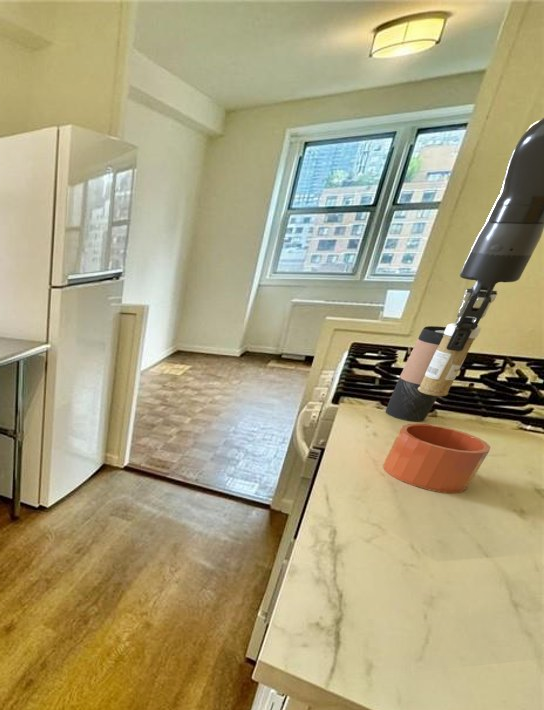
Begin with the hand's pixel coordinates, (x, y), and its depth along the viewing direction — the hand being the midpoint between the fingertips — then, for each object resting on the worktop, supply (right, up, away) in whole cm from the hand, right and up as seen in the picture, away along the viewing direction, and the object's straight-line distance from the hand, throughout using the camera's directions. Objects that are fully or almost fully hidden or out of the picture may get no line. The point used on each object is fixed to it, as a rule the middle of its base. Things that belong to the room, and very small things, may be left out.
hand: (454, 346), depth 92 cm
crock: (-9, -25, -3) cm, 26 cm away
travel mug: (+11, -12, +21) cm, 27 cm away
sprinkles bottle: (0, -8, +4) cm, 10 cm away
